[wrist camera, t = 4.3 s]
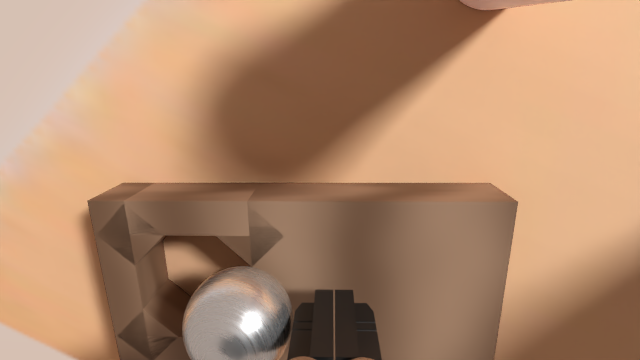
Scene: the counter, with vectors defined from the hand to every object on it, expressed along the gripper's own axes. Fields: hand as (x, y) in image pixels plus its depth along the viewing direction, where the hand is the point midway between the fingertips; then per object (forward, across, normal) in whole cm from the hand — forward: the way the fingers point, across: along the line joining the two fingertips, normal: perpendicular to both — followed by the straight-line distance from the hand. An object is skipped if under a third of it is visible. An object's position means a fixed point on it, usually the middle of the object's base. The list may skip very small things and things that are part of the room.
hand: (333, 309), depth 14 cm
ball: (-1, +4, 0) cm, 4 cm away
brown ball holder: (+4, +1, 0) cm, 4 cm away
